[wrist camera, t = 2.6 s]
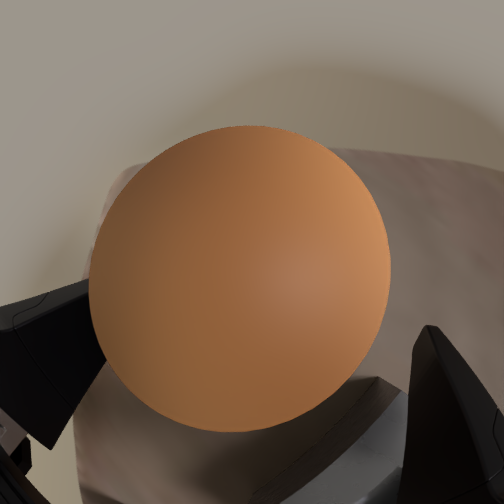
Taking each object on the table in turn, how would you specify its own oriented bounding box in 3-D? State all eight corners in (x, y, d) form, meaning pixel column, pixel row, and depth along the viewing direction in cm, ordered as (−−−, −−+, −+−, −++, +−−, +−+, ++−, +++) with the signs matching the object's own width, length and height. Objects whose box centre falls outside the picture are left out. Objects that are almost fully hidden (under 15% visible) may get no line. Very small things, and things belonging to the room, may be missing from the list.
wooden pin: (298, 369, 14) (226, 488, 2) (246, 326, 16) (58, 278, 4) (343, 315, 15) (446, 226, 3) (290, 274, 16) (214, 97, 4)
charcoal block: (363, 550, 8) (368, 585, 4) (253, 493, 12) (233, 530, 8) (477, 449, 9) (508, 469, 5) (378, 376, 13) (401, 390, 9)
